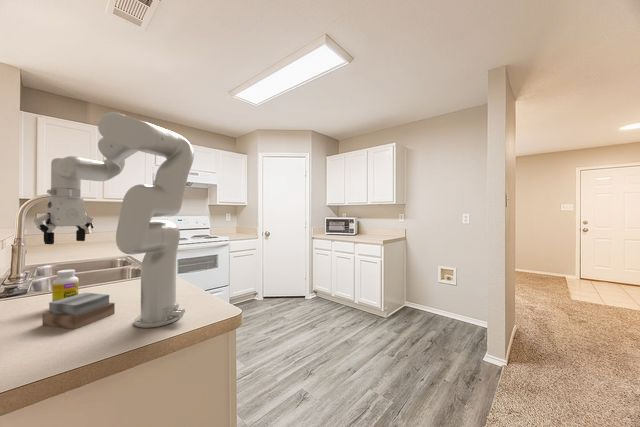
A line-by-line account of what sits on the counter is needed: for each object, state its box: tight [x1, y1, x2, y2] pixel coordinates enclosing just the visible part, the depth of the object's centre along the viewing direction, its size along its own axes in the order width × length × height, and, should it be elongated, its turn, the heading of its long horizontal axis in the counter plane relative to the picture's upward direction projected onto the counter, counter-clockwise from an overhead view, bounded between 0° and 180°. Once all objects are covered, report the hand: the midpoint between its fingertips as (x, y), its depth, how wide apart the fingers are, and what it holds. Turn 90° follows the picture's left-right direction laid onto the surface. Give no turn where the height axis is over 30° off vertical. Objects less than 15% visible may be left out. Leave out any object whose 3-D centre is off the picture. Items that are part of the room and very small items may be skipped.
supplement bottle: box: [51, 268, 80, 302], centre depth 93 cm, size 7×7×13 cm
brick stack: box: [42, 292, 116, 330], centre depth 83 cm, size 12×12×6 cm
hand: (65, 242), depth 93 cm, fingers open, 9 cm apart
